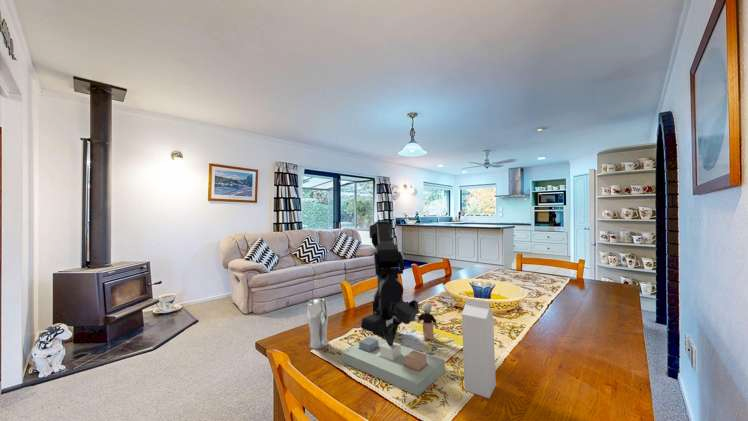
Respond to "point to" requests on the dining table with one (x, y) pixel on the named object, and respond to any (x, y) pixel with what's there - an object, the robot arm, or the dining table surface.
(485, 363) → the milk
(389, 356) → the light grey cube
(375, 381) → the dining table surface
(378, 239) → the robot arm
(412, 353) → the terracotta key
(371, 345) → the slate key
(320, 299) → the beer glass
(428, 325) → the grandmother figurine
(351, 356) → the console
